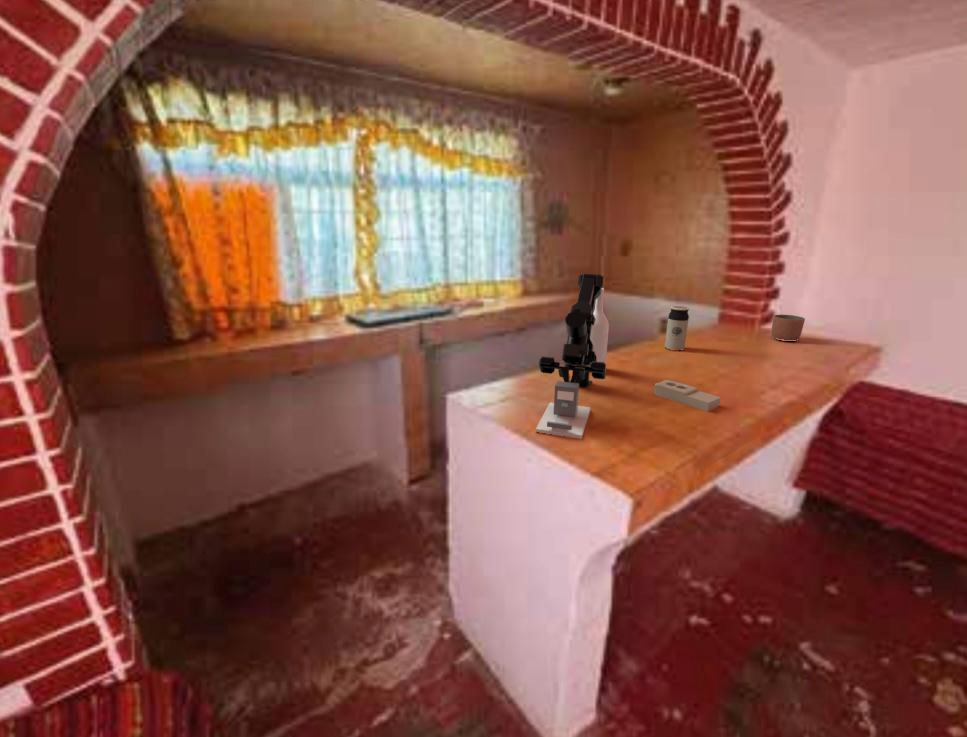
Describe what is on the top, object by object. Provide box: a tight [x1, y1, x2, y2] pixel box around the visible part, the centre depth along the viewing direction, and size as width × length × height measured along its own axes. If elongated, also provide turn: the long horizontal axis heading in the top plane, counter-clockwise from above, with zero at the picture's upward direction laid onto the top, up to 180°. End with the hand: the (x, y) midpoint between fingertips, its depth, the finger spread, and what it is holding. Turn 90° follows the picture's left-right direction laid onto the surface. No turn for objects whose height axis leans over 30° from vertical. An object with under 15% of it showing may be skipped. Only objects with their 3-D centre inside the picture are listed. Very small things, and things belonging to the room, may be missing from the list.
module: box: [553, 380, 580, 417], centre depth 134 cm, size 5×6×8 cm
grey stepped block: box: [653, 379, 721, 412], centre depth 151 cm, size 7×4×18 cm
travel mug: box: [664, 305, 690, 351], centre depth 207 cm, size 8×8×18 cm
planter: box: [771, 314, 806, 341], centre depth 224 cm, size 12×12×11 cm
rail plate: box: [535, 402, 591, 440], centre depth 135 cm, size 20×12×3 cm, turn 162°
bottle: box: [590, 288, 610, 365], centre depth 176 cm, size 8×8×30 cm
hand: (567, 394), depth 136 cm, fingers closed
